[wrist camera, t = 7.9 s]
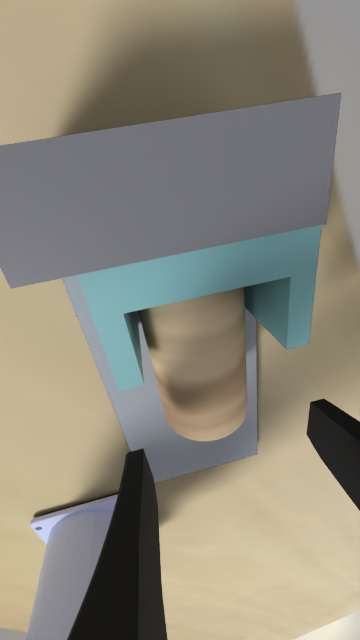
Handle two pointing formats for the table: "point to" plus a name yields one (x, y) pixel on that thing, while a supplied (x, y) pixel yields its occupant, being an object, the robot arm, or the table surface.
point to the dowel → (200, 363)
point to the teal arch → (207, 291)
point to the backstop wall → (163, 188)
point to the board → (148, 414)
